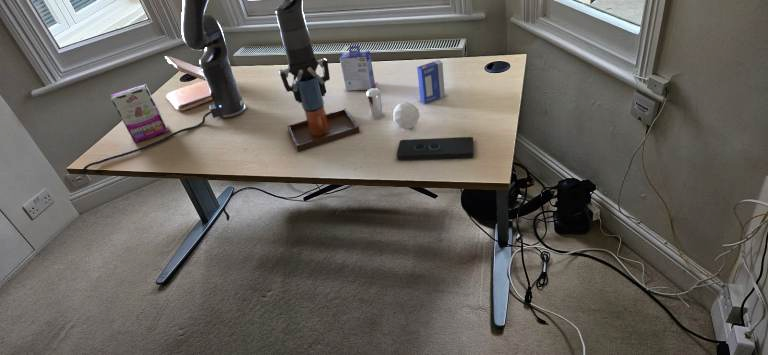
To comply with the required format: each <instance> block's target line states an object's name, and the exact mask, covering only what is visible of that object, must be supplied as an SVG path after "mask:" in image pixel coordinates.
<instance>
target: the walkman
mask: <svg viewBox="0 0 768 355" xmlns="http://www.w3.org/2000/svg"><path fill="white" fill-rule="evenodd" d="M416 70H417V80H418V89H419V97H420V102H422V103H423V104H424V105H425V104H428V103H431V102H434V101H437V100H440V99H442V98H445V97H446V91H445V78H444V65H443V61H441V60H439V59H437V60H434V61H431V62H428V63H426V64H422V65H419V66H417V67H416Z"/></svg>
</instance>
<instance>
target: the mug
mask: <svg viewBox="0 0 768 355" xmlns="http://www.w3.org/2000/svg"><path fill="white" fill-rule="evenodd" d="M303 112H304V115H305V120H307V123H308V126H309V130H310V133H311V134H312V135H315V136H318V135H323V134H325V133H327V132H328V131H329V125H328V121H327V117H326V114H327V113H326V109H325V104H324V105H323V106H322V107H321V108H319V109H316V110H310V111H308V110H304V109H303Z"/></svg>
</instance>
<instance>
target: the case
mask: <svg viewBox="0 0 768 355" xmlns="http://www.w3.org/2000/svg"><path fill="white" fill-rule="evenodd" d="M164 58H165V59H166V60H167V62H168V64H169V65H170V66H173V67H174V68H175V69H176V70H178V71H179V72H180V73H183V74H187V75H190V76H192V77H194V78H197V79H200V80H201V81H198V82H195V83H192V84H189V85H185V86H183V87H181V88H178V89H175V90H171V91H169V92H168V93H167V94H166V99H167V100H168V101H169V102H170V104H171V105H172V106H173V108H174V109H175V110H176V111H177V112H184V111H187V110H189V109H193V108H195V107H198V106H200V105H202V104H205V103H208V102H211V101H213V99H212V97H211V94H210V90H209V87H208V84H207V82H206V79H205V77H204V74H203V72H202V69H201V67H199V66H197V65H194V64H191V63H188V62H186V61H183V60H181V59H177V58H175V57H172V56H170V55H165V56H164Z"/></svg>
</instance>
